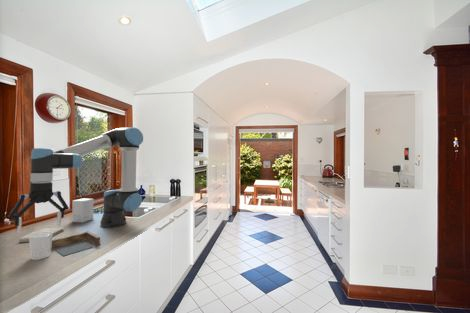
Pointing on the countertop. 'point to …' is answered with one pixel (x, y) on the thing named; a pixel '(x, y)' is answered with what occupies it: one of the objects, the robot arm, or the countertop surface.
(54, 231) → the washcloth
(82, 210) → the supplement box
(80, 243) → the mat
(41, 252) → the white cup
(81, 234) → the corner walls
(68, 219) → the countertop surface
